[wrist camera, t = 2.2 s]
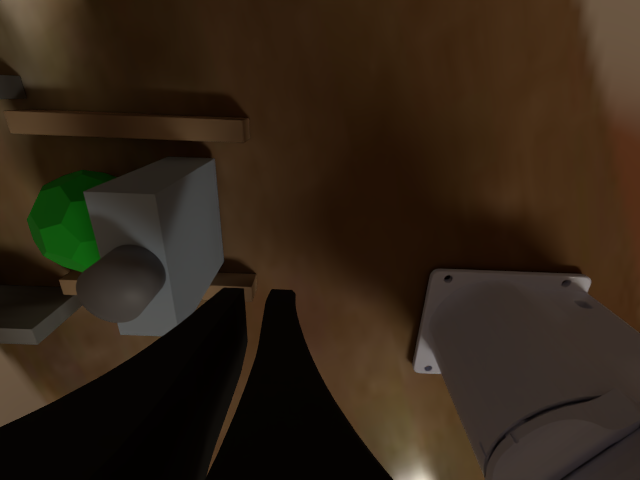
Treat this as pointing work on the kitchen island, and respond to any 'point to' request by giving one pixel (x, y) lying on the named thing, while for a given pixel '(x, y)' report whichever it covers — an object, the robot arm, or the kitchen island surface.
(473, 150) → the kitchen island surface
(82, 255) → the polyhedron
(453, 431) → the kitchen island surface
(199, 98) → the kitchen island surface
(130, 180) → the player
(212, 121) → the pitch goal
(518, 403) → the robot arm
